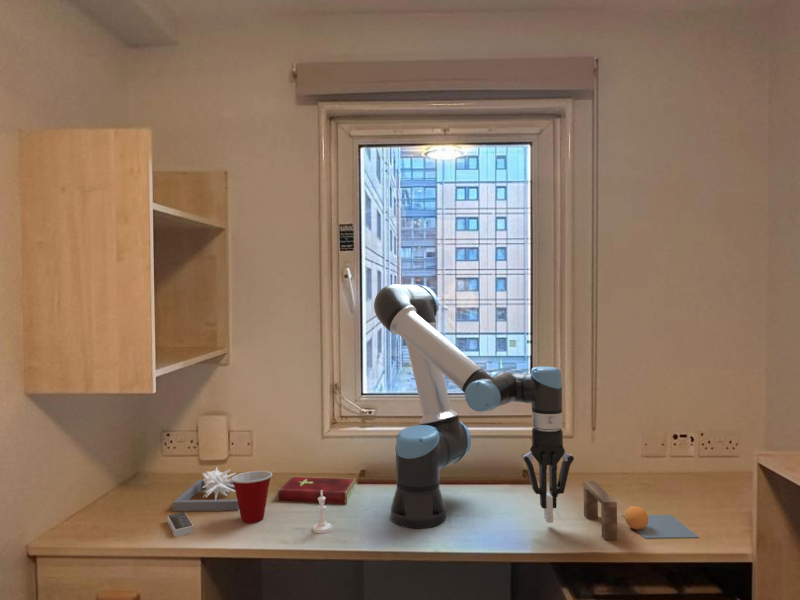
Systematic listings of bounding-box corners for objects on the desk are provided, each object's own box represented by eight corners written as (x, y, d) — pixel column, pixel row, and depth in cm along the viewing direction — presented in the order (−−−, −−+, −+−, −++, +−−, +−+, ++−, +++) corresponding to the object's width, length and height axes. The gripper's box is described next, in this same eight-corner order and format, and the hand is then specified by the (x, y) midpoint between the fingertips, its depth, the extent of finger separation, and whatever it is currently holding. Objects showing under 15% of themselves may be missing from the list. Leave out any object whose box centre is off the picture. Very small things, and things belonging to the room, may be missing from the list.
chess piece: (313, 534, 131) (313, 494, 131) (311, 526, 136) (310, 488, 136) (333, 531, 132) (332, 492, 132) (330, 523, 137) (329, 486, 137)
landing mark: (645, 538, 126) (645, 537, 126) (622, 516, 139) (622, 515, 139) (698, 537, 126) (698, 536, 126) (671, 515, 139) (671, 514, 139)
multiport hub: (175, 539, 131) (174, 529, 131) (167, 523, 140) (167, 515, 140) (193, 534, 133) (193, 525, 133) (184, 519, 142) (184, 511, 142)
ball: (644, 507, 129) (656, 526, 129) (635, 498, 134) (647, 516, 134) (624, 518, 129) (636, 537, 129) (617, 509, 135) (628, 527, 134)
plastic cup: (270, 508, 148) (269, 466, 148) (275, 523, 138) (275, 477, 138) (230, 514, 144) (229, 471, 144) (232, 530, 134) (232, 483, 134)
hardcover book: (346, 506, 150) (346, 491, 150) (277, 503, 153) (277, 488, 153) (356, 491, 162) (356, 477, 162) (292, 488, 165) (291, 475, 165)
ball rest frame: (172, 511, 147) (172, 502, 147) (198, 487, 166) (198, 479, 166) (238, 510, 147) (238, 501, 147) (256, 486, 166) (256, 478, 166)
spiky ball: (239, 490, 166) (239, 463, 167) (243, 499, 155) (243, 470, 155) (201, 495, 161) (201, 467, 162) (202, 505, 150) (202, 475, 151)
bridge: (604, 540, 125) (604, 502, 125) (584, 515, 140) (583, 481, 140) (617, 540, 125) (616, 502, 125) (595, 515, 140) (594, 481, 140)
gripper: (525, 432, 129) (526, 527, 129) (577, 431, 129) (579, 526, 129) (518, 424, 137) (519, 514, 137) (568, 424, 137) (569, 514, 137)
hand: (548, 520), depth 133 cm, fingers closed
